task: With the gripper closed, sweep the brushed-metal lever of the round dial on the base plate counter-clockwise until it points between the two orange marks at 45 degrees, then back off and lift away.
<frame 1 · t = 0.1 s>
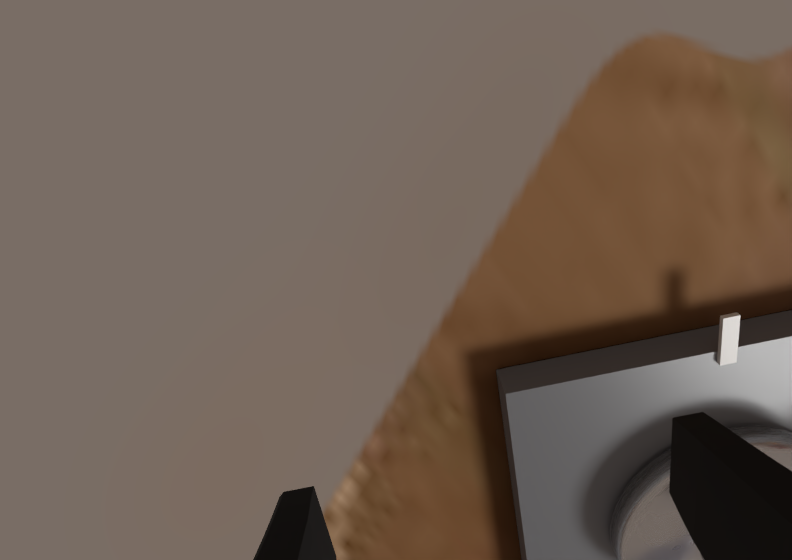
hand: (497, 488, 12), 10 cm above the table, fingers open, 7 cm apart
dial plate: (695, 480, 27), on the table
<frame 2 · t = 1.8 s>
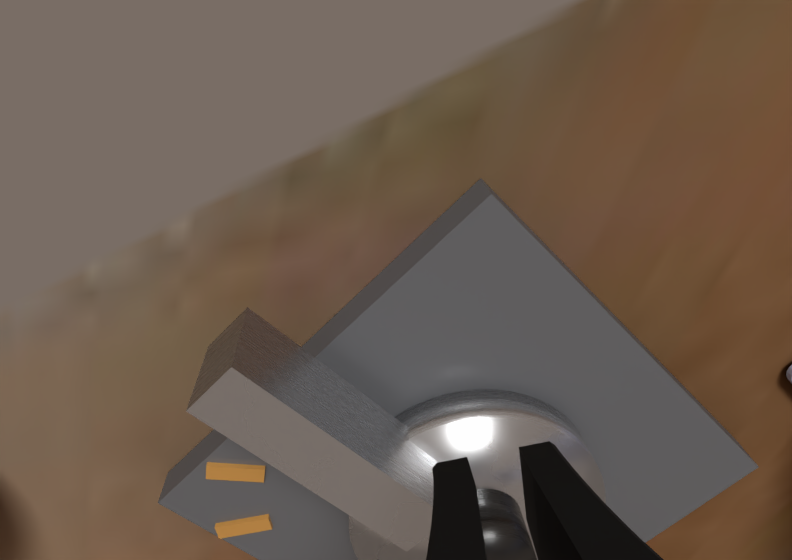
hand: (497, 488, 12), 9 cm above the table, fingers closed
dial plate: (462, 456, 24), on the table
dial: (415, 483, 20), point 4 cm above the table, hinge at 0.0°
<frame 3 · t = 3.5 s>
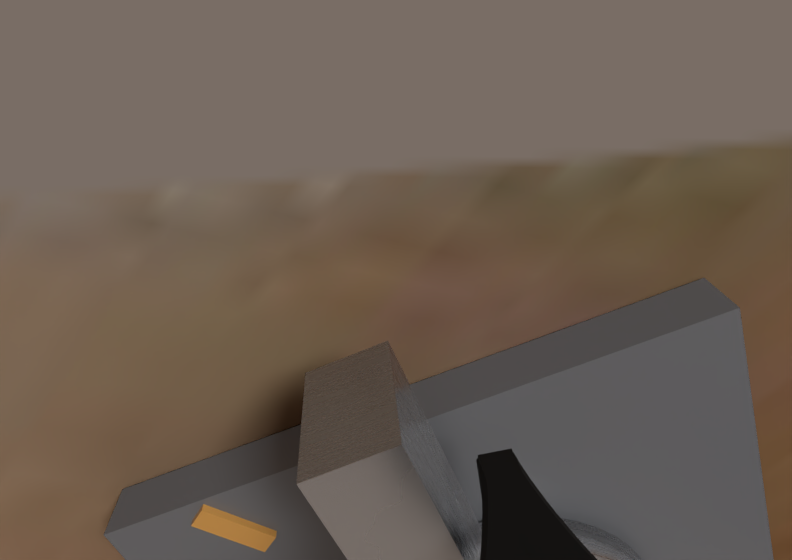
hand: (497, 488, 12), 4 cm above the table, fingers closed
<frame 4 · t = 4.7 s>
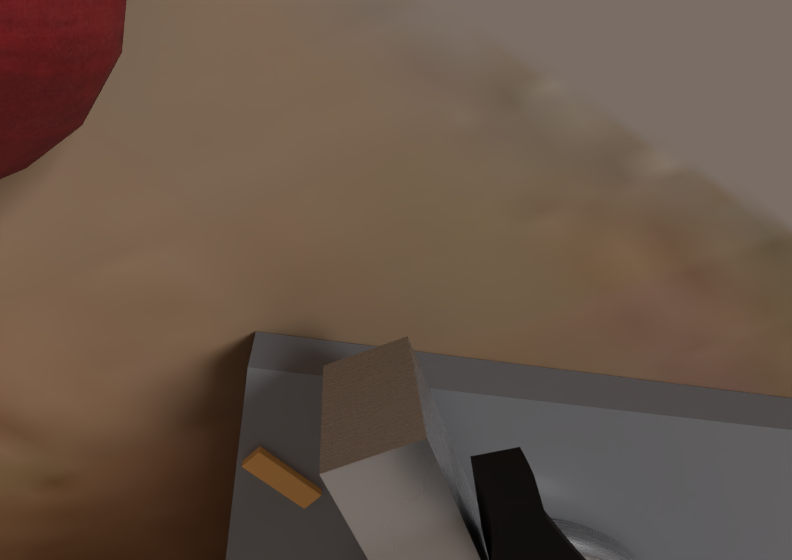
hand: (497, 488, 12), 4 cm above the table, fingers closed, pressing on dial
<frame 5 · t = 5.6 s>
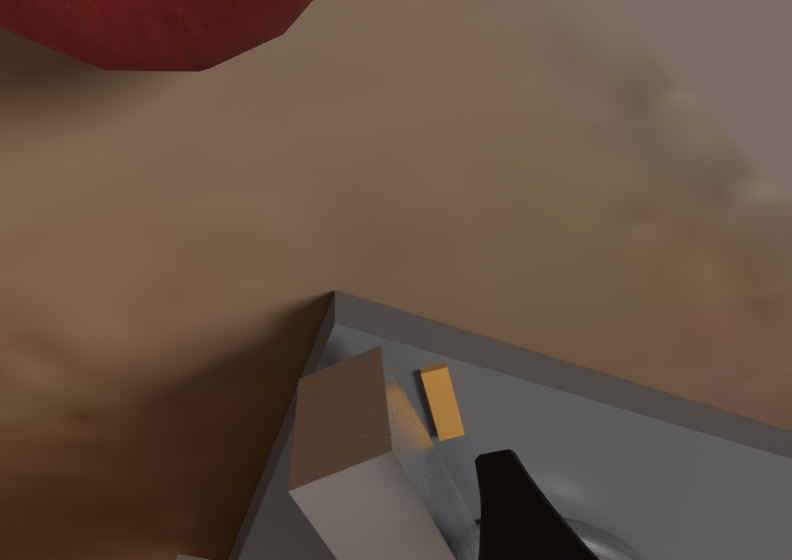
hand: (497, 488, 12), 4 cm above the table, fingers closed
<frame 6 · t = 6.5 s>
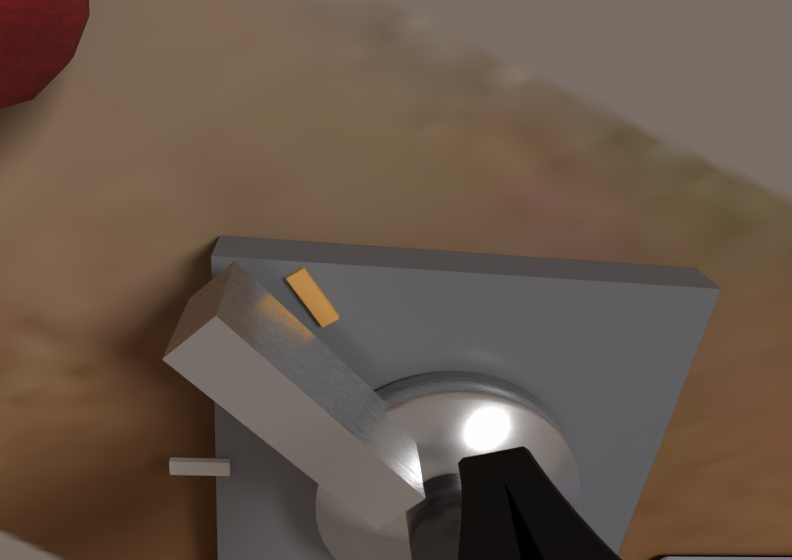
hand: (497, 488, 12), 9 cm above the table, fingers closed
dial plate: (435, 442, 24), on the table
dial: (390, 462, 19), point 4 cm above the table, hinge at 45.3°
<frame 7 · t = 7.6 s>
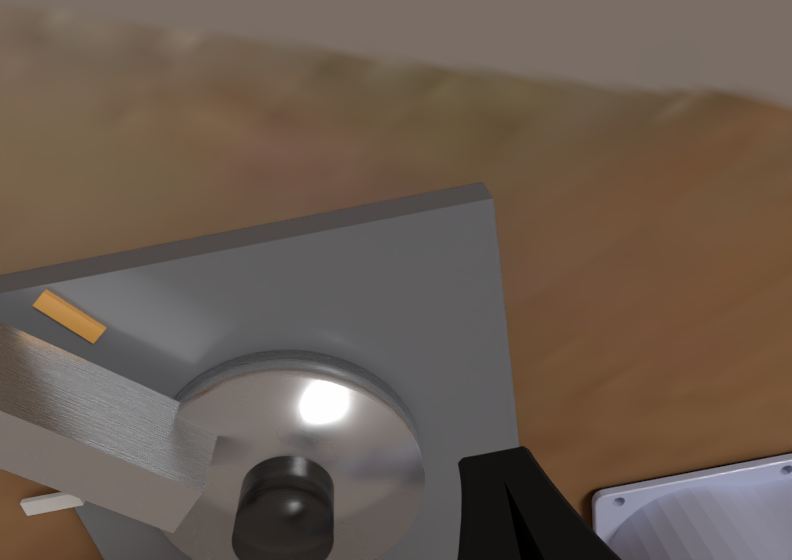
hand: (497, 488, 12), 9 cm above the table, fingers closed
dial plate: (294, 426, 23), on the table
dial: (193, 461, 19), point 4 cm above the table, hinge at 45.3°
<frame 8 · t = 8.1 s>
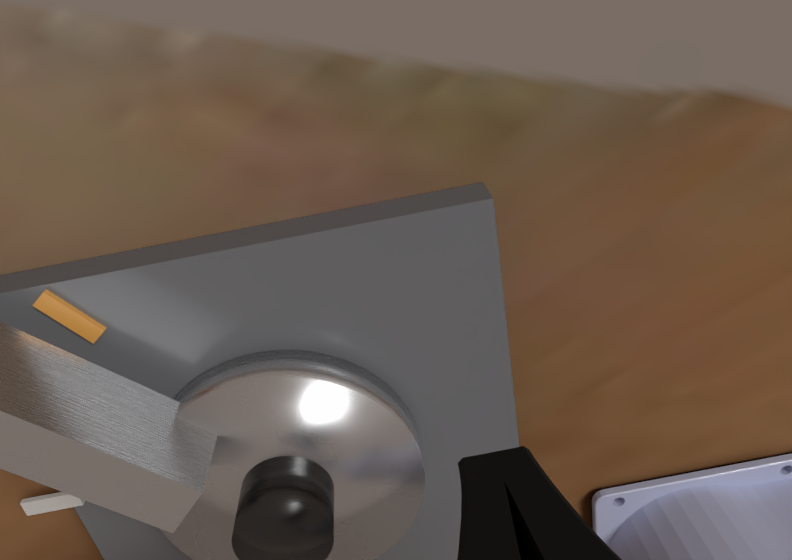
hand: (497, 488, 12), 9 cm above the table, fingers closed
dial plate: (294, 426, 23), on the table
dial: (193, 461, 19), point 4 cm above the table, hinge at 45.3°
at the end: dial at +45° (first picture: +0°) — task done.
